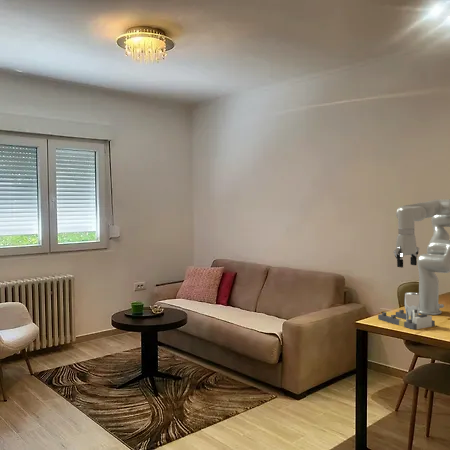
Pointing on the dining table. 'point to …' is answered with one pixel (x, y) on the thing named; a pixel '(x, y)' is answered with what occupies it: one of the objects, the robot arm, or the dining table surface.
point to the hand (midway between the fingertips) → (407, 266)
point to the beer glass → (412, 305)
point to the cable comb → (418, 322)
